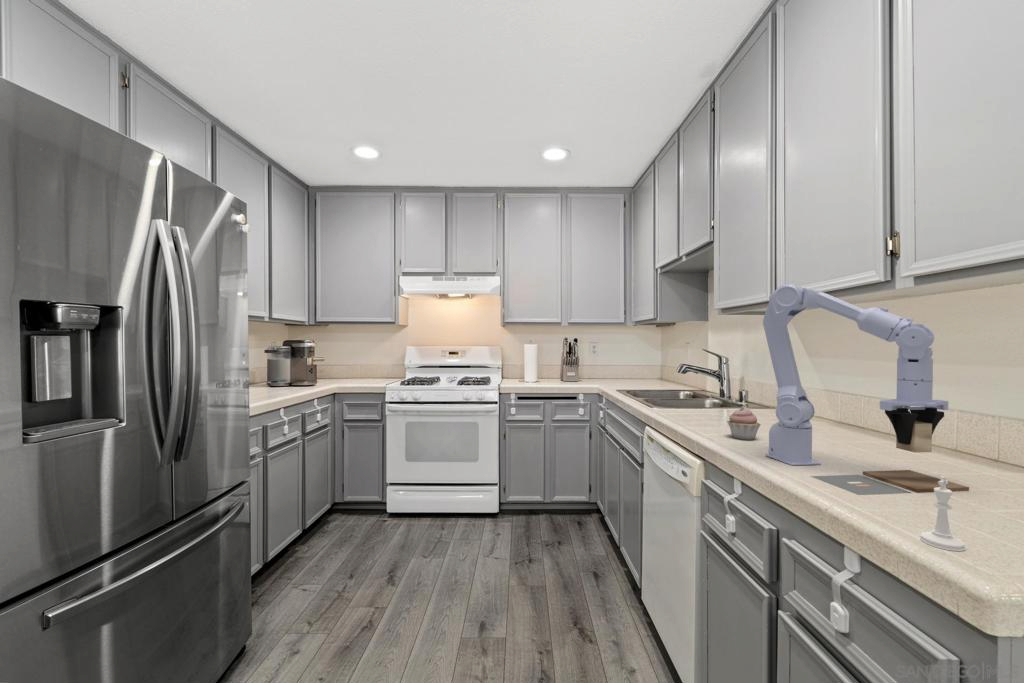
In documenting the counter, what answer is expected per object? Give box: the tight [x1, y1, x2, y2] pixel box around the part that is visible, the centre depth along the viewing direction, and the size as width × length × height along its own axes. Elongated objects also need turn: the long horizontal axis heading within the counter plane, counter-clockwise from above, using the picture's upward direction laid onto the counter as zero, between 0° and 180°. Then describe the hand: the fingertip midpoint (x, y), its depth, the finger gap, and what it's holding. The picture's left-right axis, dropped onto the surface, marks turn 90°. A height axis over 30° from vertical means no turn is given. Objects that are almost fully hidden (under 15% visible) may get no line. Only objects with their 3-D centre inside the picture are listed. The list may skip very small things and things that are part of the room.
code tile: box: [810, 474, 912, 496], centre depth 94 cm, size 12×12×1 cm
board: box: [862, 469, 970, 494], centre depth 96 cm, size 12×12×1 cm
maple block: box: [895, 421, 933, 454], centre depth 96 cm, size 4×4×6 cm
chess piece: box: [919, 475, 967, 552], centre depth 67 cm, size 5×5×10 cm
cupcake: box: [726, 405, 761, 441], centre depth 138 cm, size 9×9×10 cm
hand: (913, 443), depth 96 cm, fingers closed on maple block, 4 cm apart
